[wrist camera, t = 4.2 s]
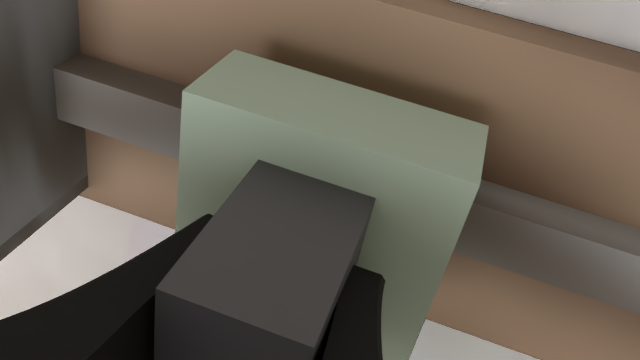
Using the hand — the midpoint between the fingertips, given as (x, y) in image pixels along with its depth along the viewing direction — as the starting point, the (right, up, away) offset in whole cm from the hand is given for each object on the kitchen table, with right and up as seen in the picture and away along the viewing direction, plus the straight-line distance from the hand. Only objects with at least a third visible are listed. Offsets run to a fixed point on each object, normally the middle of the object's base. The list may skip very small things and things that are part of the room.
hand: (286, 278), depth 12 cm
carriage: (+1, +2, +4) cm, 5 cm away
